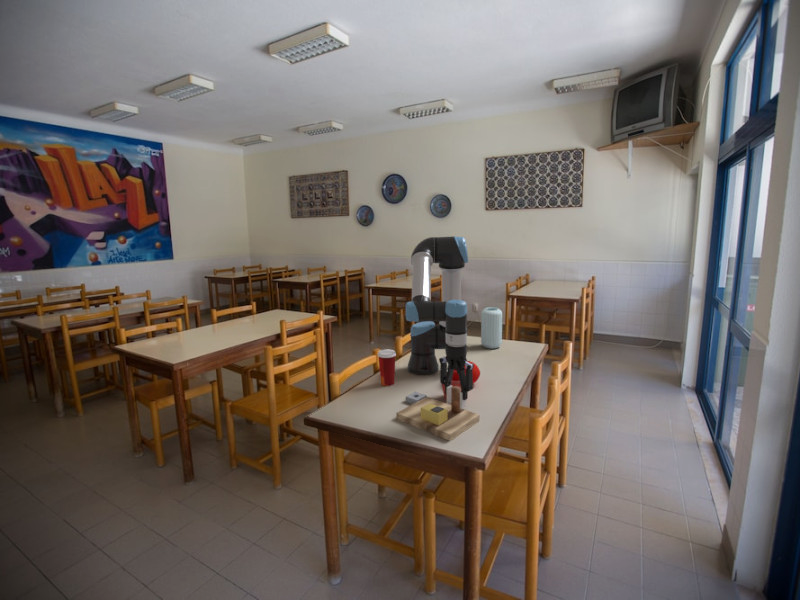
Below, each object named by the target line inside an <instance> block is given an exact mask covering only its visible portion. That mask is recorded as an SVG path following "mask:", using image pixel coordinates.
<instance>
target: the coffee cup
mask: <svg viewBox="0 0 800 600" xmlns="http://www.w3.org/2000/svg"><path fill="white" fill-rule="evenodd" d="M376 355H377V357H378V366H379V367H378V368H379V377H380V384H381V386H383V387H391V386H393V385H395V378H396V377H395V376H396V374H395V373H396V356H397V353H396V351H395V350H393V349H389V348H387V349H381V350H379V351H378V353H377V354H376Z"/></svg>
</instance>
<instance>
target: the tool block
mask: <svg viewBox="0 0 800 600" xmlns="http://www.w3.org/2000/svg"><path fill="white" fill-rule="evenodd" d="M426 397H428V395H426V394H424V393H420V392H417V391H414V392H412V393H410V394H408V395H405V402H406V403H409V404H411V405H413V404H415V403H416V402H418V401H420V400H422V399H424V398H426Z"/></svg>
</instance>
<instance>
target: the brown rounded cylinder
mask: <svg viewBox="0 0 800 600" xmlns="http://www.w3.org/2000/svg"><path fill="white" fill-rule="evenodd" d="M460 391H461V388H460V387H458V386H453V387H451V403H450V405H451V411H452V412H453V413H460V412H461V409H460Z"/></svg>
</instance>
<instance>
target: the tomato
mask: <svg viewBox="0 0 800 600" xmlns="http://www.w3.org/2000/svg"><path fill="white" fill-rule="evenodd" d="M467 362H469V363H470V364H472V363H473V364H474V367H473V384H475V383H476V382H477V381H478V380H479V378H480V376H481V370H480V368H479V366H478V364H476V362H475V363H474V362H473V361H471V360H467ZM464 367H466V365H465V366H464ZM454 371H457V370H455V369H454ZM465 374H466V368H465Z"/></svg>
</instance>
